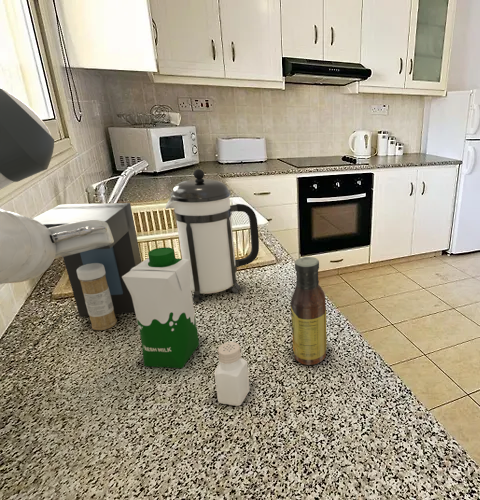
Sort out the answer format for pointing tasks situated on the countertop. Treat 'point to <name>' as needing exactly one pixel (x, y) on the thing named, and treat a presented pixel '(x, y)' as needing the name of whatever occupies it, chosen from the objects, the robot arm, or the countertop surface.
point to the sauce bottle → (308, 314)
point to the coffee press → (209, 234)
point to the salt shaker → (231, 375)
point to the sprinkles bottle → (97, 295)
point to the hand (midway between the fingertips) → (47, 252)
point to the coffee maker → (101, 249)
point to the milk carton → (164, 308)
